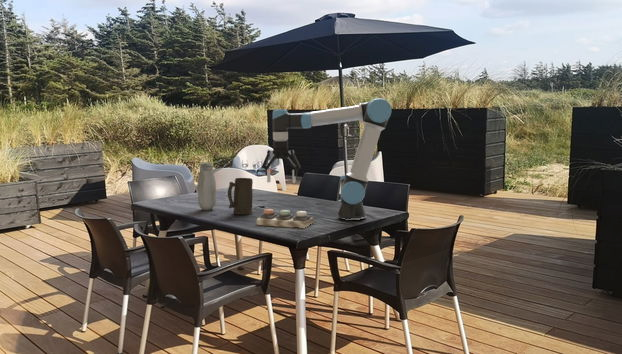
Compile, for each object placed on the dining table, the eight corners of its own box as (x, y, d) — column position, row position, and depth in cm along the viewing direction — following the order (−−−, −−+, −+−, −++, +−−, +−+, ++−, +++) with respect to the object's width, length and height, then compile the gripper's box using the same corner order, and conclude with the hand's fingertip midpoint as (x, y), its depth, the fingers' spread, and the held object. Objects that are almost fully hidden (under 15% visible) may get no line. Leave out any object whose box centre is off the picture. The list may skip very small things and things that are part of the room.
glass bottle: (212, 211, 296) (210, 163, 293) (195, 211, 298) (194, 163, 295) (218, 208, 306) (217, 161, 302) (202, 208, 308) (201, 161, 304)
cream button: (308, 215, 258) (307, 211, 258) (304, 217, 254) (304, 213, 253) (298, 214, 260) (298, 210, 260) (295, 216, 255) (295, 212, 255)
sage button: (291, 214, 261) (291, 210, 261) (287, 216, 257) (287, 212, 256) (282, 213, 263) (282, 209, 263) (278, 215, 258) (278, 211, 258)
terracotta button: (275, 213, 264) (275, 209, 264) (271, 214, 260) (271, 211, 259) (266, 212, 266) (266, 208, 266) (262, 214, 261) (262, 210, 261)
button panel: (313, 223, 262) (313, 214, 261) (304, 228, 250) (304, 219, 250) (266, 220, 270) (266, 211, 270) (256, 224, 259) (256, 216, 259)
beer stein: (244, 211, 297) (243, 176, 295) (257, 213, 290) (256, 178, 288) (223, 215, 285) (222, 179, 283) (237, 217, 278) (236, 180, 276)
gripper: (306, 140, 257) (307, 182, 260) (260, 140, 265) (261, 180, 267) (301, 140, 250) (302, 184, 253) (254, 140, 258) (255, 182, 260)
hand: (281, 182), depth 260 cm, fingers open, 13 cm apart
